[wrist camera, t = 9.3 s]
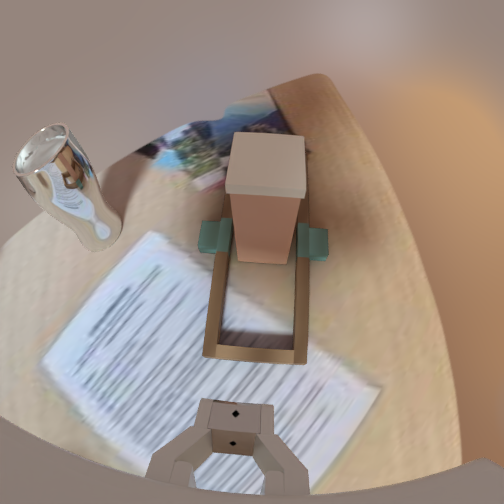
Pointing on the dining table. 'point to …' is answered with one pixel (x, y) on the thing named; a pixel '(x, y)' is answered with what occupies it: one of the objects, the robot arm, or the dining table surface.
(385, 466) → the dining table surface
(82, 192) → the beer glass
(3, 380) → the dining table surface
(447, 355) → the dining table surface
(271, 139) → the block
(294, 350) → the open rectangular frame
